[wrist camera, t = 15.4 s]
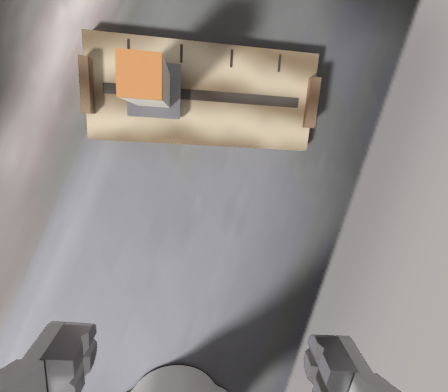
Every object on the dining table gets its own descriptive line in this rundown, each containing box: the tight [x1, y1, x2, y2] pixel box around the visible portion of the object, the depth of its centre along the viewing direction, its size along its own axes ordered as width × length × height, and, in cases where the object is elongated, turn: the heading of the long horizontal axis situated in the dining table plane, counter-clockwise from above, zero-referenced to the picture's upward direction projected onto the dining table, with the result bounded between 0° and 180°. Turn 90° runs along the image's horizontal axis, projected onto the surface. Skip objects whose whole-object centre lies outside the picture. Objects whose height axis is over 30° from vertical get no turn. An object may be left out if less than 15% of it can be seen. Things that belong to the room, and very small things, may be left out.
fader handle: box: [115, 48, 181, 119], centre depth 27 cm, size 6×6×11 cm
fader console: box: [78, 29, 322, 151], centre depth 34 cm, size 12×28×4 cm, turn 86°
